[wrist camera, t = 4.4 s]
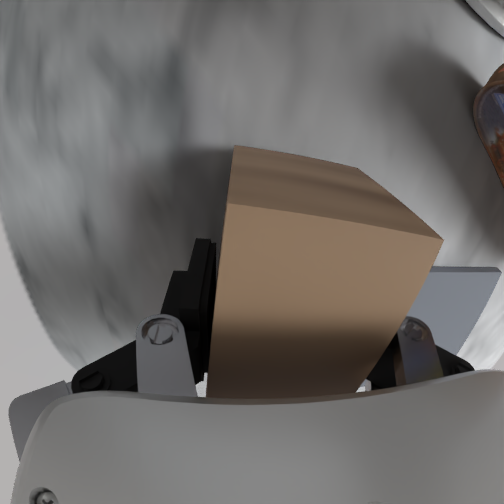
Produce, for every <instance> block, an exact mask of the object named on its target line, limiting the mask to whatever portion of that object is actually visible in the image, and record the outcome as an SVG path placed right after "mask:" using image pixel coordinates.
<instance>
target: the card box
mask: <svg viewBox="0 0 504 504" xmlns="http://www.w3.org/2000/svg"><path fill="white" fill-rule="evenodd" d="M443 241H444V240H443V239H442V238H441V237H440V236H439V235H438V234H437V233H436V232H435V231H434V230H433V229H432V228H431V227H429V226H428V225H427V224H426V223H425V222H424V221H423V220H422V219H420V218H419V217H418V216H417V215H416V214H415V213H414V212H412V211H411V210H410V209H409V208H408V207H406V206H405V205H404V204H403V203H402V202H400V201H399V200H398V199H397V198H396V197H394V196H393V195H392V194H391V193H389V192H388V191H387V190H386V189H384V188H383V187H382V186H381V185H379V184H378V183H377V182H375V181H374V180H373V179H371V178H370V177H369V176H367V175H366V174H365V173H363V172H362V171H361V170H359V169H358V168H355V167H351V166H346V165H342V164H338V163H333V162H329V161H324V160H319V159H314V158H309V157H304V156H299V155H294V154H288V153H283V152H277V151H271V150H265V149H258V148H251V147H244V146H237V145H234V151H233V158H232V165H231V172H230V179H229V186H228V193H227V201H226V208H225V216H224V223H223V231H222V239H221V247H220V256H219V264H218V273H217V282H216V291H215V301H214V311H213V322H212V333H211V344H210V355H209V367H208V375H207V388H206V397H207V398H231V399H275V398H300V397H316V396H329V395H339V394H348V393H355V392H356V391H357V390H358V388H359V387H360V386H361V384H362V383H363V382H364V380H365V379H366V378H367V376H368V375H369V373H370V372H371V370H372V369H373V368H374V366H375V365H376V363H377V362H378V360H379V359H380V357H381V356H382V354H383V353H384V351H385V350H386V348H387V346H388V345H389V343H390V342H391V340H392V339H393V337H394V335H395V334H396V332H397V330H398V329H399V327H400V325H401V324H402V322H403V320H404V319H405V317H406V315H407V313H408V312H409V310H410V308H411V306H412V304H413V303H414V301H415V299H416V297H417V295H418V293H419V291H420V290H421V288H422V286H423V284H424V282H425V280H426V278H427V276H428V274H429V272H430V270H431V268H432V265H433V263H434V261H435V259H436V257H437V255H438V253H439V250H440V248H441V246H442V243H443Z"/></svg>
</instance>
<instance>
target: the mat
mask: <svg viewBox="0 0 504 504" xmlns="http://www.w3.org/2000/svg"><path fill="white" fill-rule="evenodd" d="M501 273H502V272H501V271H500V270H499V269H498V268H484V267H432V268H431V270H430V272H429V274H428V276H427V278H426V280H425V282H424V284H423V286H422V288H421V290H420V291H419V293H418V295H417V297H416V299H415V301H414V303H413V304H412V306H411V308H410V310H409V312H408V313H407V315H406V316H411V317H415V318H418V319H420V320H421V321H423V322H424V323H425V324H426V325H427V326H428V327H429V328H430V330H431V333H432V336H433V339H434V343H435V345H437V346H439V347H441V348H443V349H445V350H447V351H449V352H450V353H452V354H454V355H457V353H458V352H459V350H460V349H461V347H462V346H463V344H464V342H465V341H466V339H467V338H468V336H469V334H470V333H471V331H472V329H473V328H474V326H475V324H476V322H477V321H478V319H479V317H480V315H481V313H482V312H483V310H484V308H485V306H486V304H487V302H488V300H489V298H490V296H491V294H492V292H493V290H494V288H495V286H496V284H497V282H498V280H499V277H500V275H501ZM365 382H366V379H365V380H364V382H363V383H362V384H361V386H360V387H363V386H365Z"/></svg>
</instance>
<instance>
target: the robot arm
mask: <svg viewBox="0 0 504 504" xmlns="http://www.w3.org/2000/svg"><path fill="white" fill-rule="evenodd" d="M465 1H466V2H467V3H468V4H469V5H470V6H471V7H472V8H473V9H474V11H475V12H476V13H477V14H478V15H480V16H481V17H482V18H483V19H484V20H485V21H486V22H487V23H488V24H489V25H490V26H491V27H492V28H493V29H495V30H496V31H497V32H498V33H499V34H501V35H502V36H503V37H504V0H465ZM215 291H216V243H211V239H202V238H196V241H195V245H194V249H193V252H192V256H191V260H190V264H189V268H188V271H174V272H173V274H172V277H171V280H170V283H169V286H168V290H167V293H166V296H165V299H164V303H163V306H162V309H161V313H160V314H157V315H152V316H150V317H147V318H145V319H144V320H143V321H142V322H140V324H139V325H138V327H137V330H136V340H135V341H133V342H131V343H129V344H127V345H125V346H123V347H122V348H120V349H118V350H116V351H114V352H112V353H110V354H108V355H106V356H104V357H102V358H100V359H98V360H96V361H95V362H93V363H91V364H89V365H87V366H85V367H83V368H82V369H80V370H79V371H77V373H76V374H75V375H74V377H73V379H72V381H71V382H68V383H66V382H65V381H61V382H58V383H55V384H52V385H50V386H47V387H44V388H41V389H38V390H35V391H32V392H30V393H27V394H24V395H21V396H19V397H17V398H15V399H14V400H13V401H12V403H11V404H10V407H9V420H10V425H11V430H12V434H13V438H14V443H15V446H16V450H17V454H18V457H19V461H20V464H19V467H18V470H17V475H16V479H15V483H14V488H13V493H12V499H11V504H504V371H501V370H494V369H489V370H476V371H475V370H474V368H473V367H472V366H471V364H470V363H468V362H467V361H465V360H463V359H462V358H460V357H458V356H456V355H454V354H452V353H450V352H449V351H447V350H445V349H443V348H441V347H439V346H437V345H435V343H434V339H433V336H432V333H431V330H430V328H429V327H428V326H427V325H426V324H425V323H424V322H423V321H421V320H420V319H418V318H415V317H411V316H406V317H405V319H404V320H403V322H402V324H401V325H400V327H399V329H398V330H397V332H396V334H395V335H394V337H393V339H392V340H391V342H390V343H389V345H388V346H387V348H386V350H385V351H384V353H383V354H382V356H381V357H380V359H379V360H378V362H377V363H376V365H375V366H374V368H373V369H372V370H371V372H370V373H369V375H368V376H367V378H366V382H365V392H357V393H348V394H339V395H329V396H316V397H300V398H275V399H231V398H207V397H198V395H197V391H196V386H195V385H196V384H198V383H199V382H201V381H204V373H208V367H209V355H210V344H211V333H212V322H213V311H214V301H215Z"/></svg>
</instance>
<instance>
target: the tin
mask: <svg viewBox="0 0 504 504" xmlns="http://www.w3.org/2000/svg"><path fill="white" fill-rule="evenodd" d="M473 115H474V121H475V125H476V128H477V131H478V134H479V136H480V138H481V140H482V142H483V144H484V146H485V148H486V150H487V152H488V154H489V156H490V158H491V160H492V162H493V165H494V167H495V169H496V171H497V173H498V175H499V178H500V180H501V183H502V185H503V187H504V64H502V65H501V66H500V67H499V68H498V69H497V70H496V71H495V72H494V73H493V75H492V76H491V77H490V79H489V81H488V82H487V84H486V85H485V86H484V87H483V88H482V89H481V90H480V91H479V92H478V93H477V95H476V97H475V100H474V105H473Z"/></svg>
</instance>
